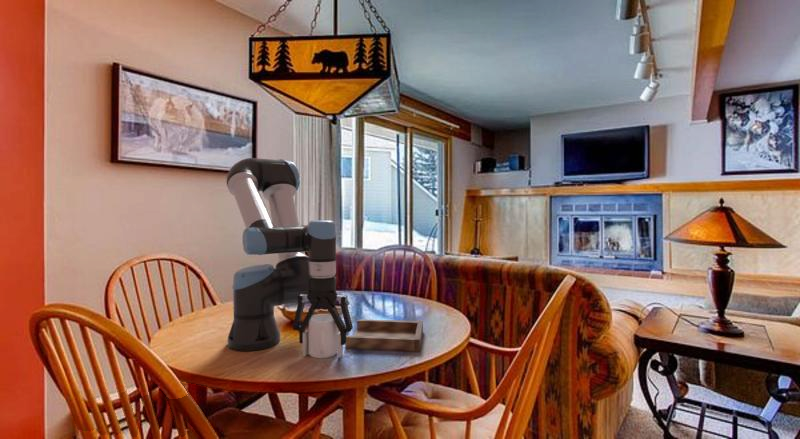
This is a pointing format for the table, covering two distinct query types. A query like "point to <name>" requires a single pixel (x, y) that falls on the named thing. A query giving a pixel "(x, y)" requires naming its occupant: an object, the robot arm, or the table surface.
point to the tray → (386, 335)
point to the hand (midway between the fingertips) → (322, 355)
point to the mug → (322, 336)
